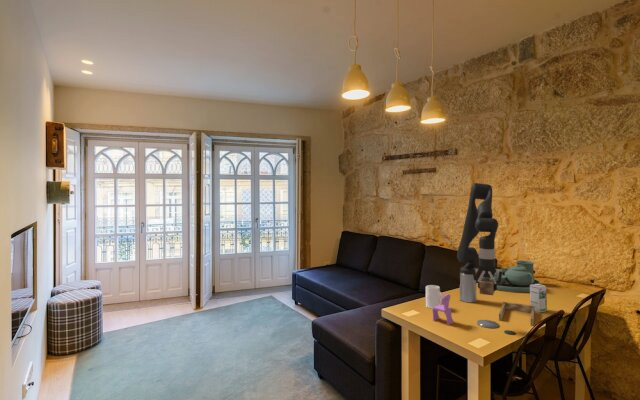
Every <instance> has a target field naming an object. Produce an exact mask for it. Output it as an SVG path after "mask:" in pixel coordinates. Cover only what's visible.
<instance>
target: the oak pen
mask: <svg viewBox="0 0 640 400" xmlns="http://www.w3.org/2000/svg"><path fill="white" fill-rule="evenodd" d="M506 310H510V311H511V310H512V311H517V312H518V311H519V312H525V313H530V327H534V322H535V314H536V313H535V312H536V311H534V306H530V305H528V304H521V303H514V302H508V301H507V302H505V301H503V302H502V304H501V308H500V310H499V313H498V321H499V322H502V321H503V317H504V315H505V312H506Z"/></svg>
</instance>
